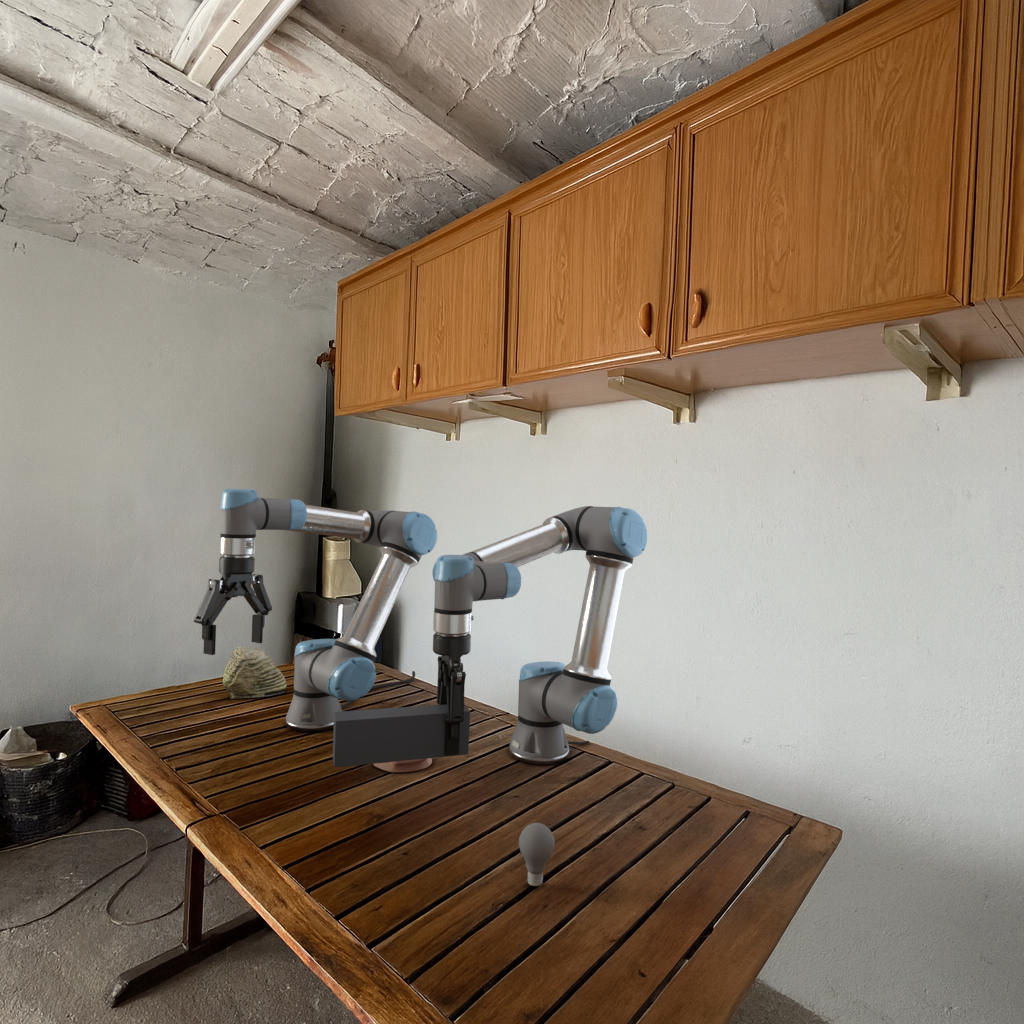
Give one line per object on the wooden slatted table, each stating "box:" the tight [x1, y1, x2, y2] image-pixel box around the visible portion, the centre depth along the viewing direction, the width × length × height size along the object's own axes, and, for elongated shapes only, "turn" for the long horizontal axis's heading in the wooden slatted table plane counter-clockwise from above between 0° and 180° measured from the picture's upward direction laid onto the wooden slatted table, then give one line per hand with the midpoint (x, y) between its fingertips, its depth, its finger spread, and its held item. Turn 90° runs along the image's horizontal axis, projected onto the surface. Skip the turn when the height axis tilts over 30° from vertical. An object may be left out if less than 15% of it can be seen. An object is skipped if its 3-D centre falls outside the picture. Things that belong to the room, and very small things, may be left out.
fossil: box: [222, 646, 288, 699], centre depth 198 cm, size 9×18×15 cm, turn 132°
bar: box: [332, 703, 471, 768], centre depth 124 cm, size 26×5×9 cm, turn 109°
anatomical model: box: [372, 758, 433, 773], centre depth 152 cm, size 13×4×12 cm
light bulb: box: [518, 822, 556, 887], centre depth 106 cm, size 6×6×10 cm
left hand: (234, 648), depth 146 cm, fingers open, 13 cm apart
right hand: (448, 748), depth 127 cm, fingers closed on bar, 5 cm apart
